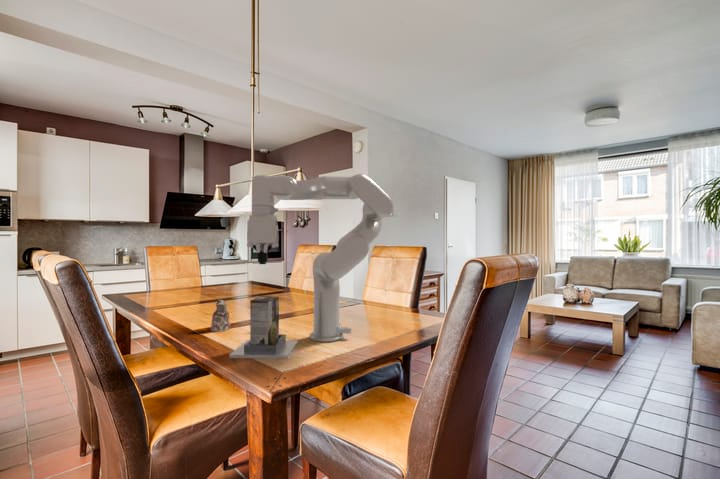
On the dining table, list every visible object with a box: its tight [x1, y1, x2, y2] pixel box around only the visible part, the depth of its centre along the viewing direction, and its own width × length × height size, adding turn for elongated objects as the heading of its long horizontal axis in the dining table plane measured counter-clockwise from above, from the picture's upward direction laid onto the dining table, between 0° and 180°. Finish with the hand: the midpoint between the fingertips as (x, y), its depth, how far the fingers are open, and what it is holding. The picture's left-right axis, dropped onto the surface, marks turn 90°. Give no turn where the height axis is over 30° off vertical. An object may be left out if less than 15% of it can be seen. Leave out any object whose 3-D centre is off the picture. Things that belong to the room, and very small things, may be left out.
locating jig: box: [228, 333, 299, 360], centre depth 117 cm, size 18×16×4 cm
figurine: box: [210, 298, 231, 333], centre depth 143 cm, size 7×7×12 cm
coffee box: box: [249, 295, 280, 345], centre depth 117 cm, size 9×6×16 cm
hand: (262, 263), depth 124 cm, fingers closed
